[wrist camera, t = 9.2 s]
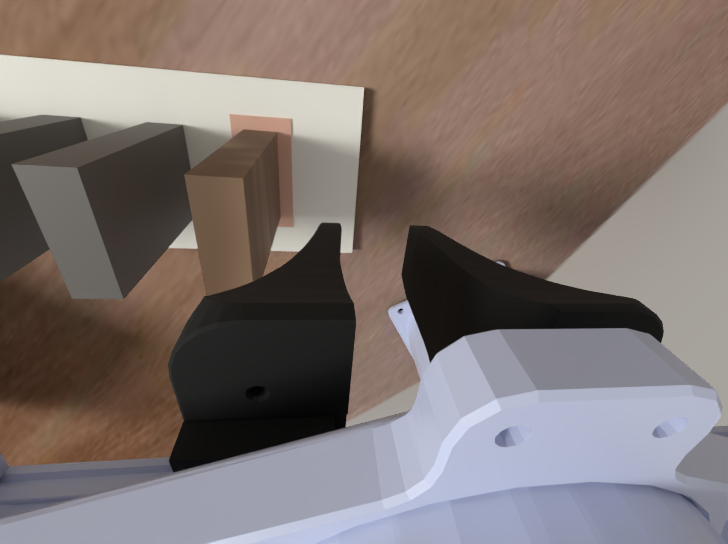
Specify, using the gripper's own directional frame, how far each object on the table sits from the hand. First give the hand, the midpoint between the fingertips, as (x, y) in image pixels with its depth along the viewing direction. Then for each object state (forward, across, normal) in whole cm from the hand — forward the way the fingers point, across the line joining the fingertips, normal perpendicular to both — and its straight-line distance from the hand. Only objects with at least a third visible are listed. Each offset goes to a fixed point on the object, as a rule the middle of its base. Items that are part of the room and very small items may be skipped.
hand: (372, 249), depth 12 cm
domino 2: (+10, +10, 0) cm, 14 cm away
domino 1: (+10, +5, 0) cm, 11 cm away
